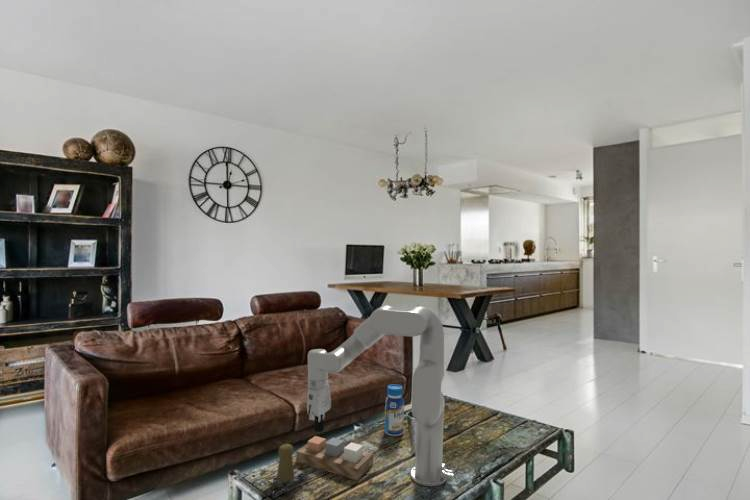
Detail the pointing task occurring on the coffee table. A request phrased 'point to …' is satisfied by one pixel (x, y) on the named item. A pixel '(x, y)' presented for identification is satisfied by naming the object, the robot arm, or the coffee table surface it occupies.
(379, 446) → the coffee table surface
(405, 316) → the robot arm
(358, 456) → the key ivory
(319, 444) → the key terracotta
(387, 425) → the beverage bottle
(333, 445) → the grey cube
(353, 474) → the wooden slotted tray
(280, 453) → the cork
